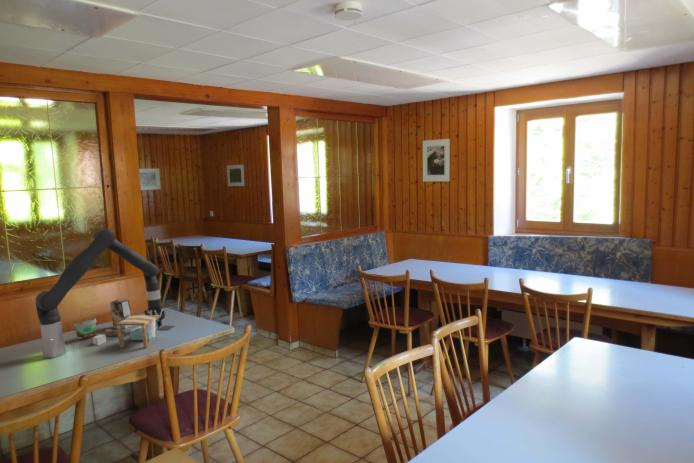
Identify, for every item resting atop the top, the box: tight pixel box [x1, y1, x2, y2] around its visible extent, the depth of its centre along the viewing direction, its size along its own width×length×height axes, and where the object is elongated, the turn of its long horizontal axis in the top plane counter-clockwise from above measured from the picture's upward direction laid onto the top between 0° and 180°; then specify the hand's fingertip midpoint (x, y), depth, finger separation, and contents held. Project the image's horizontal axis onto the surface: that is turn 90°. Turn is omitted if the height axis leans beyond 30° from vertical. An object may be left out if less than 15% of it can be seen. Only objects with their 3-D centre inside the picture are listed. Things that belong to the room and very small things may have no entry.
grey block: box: [91, 334, 107, 346], centre depth 269 cm, size 5×4×4 cm
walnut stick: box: [104, 328, 126, 337], centre depth 282 cm, size 12×2×3 cm, turn 71°
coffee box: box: [109, 299, 133, 330], centre depth 296 cm, size 9×6×16 cm
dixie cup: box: [146, 320, 156, 339], centre depth 273 cm, size 8×8×10 cm
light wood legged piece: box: [116, 314, 160, 349], centre depth 264 cm, size 14×16×13 cm
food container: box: [73, 317, 98, 341], centre depth 279 cm, size 12×6×10 cm, turn 143°
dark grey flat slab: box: [156, 325, 175, 331], centre depth 288 cm, size 7×7×1 cm
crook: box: [129, 319, 161, 342], centre depth 280 cm, size 22×12×5 cm, turn 164°
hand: (157, 326), depth 290 cm, fingers closed on crook, 3 cm apart
